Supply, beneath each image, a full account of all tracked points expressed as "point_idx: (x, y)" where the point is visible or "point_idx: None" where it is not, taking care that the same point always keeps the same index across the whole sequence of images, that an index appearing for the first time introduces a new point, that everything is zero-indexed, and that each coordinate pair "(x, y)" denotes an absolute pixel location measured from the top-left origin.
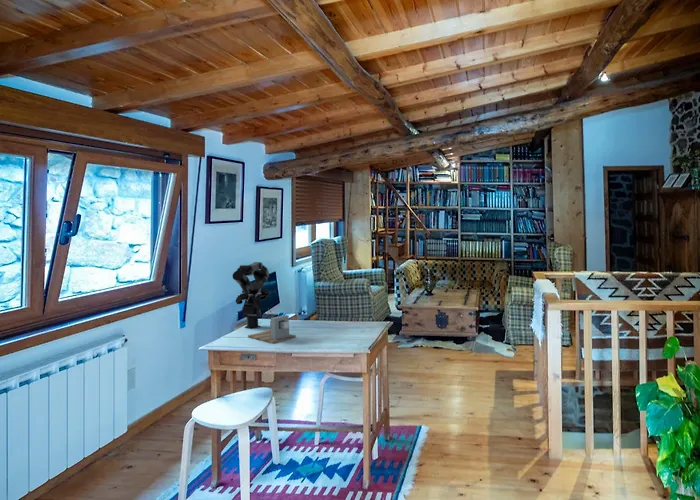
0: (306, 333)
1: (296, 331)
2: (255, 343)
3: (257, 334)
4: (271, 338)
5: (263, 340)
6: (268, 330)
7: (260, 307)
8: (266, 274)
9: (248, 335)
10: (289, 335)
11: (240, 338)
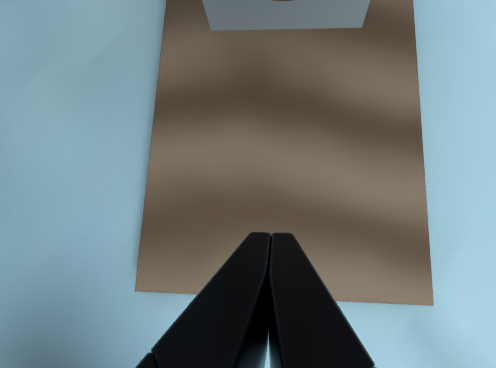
0: (36, 18)
1: (20, 120)
2: (488, 88)
3: (342, 251)
4: (362, 24)
5: (413, 70)
6: (169, 287)
7: (263, 241)
8: None
9: (429, 295)
10: (196, 3)
11: (493, 347)
